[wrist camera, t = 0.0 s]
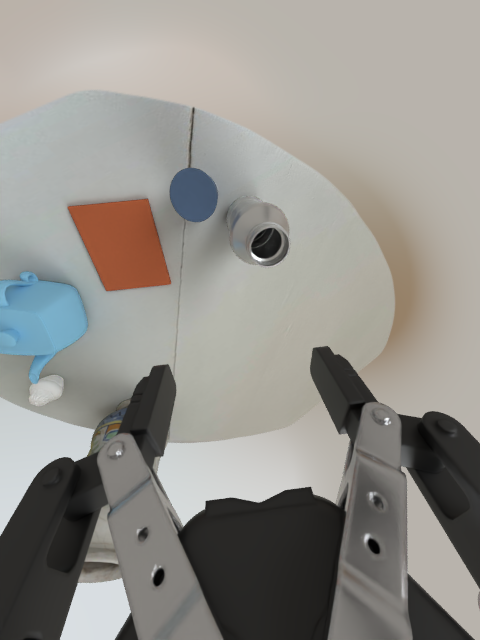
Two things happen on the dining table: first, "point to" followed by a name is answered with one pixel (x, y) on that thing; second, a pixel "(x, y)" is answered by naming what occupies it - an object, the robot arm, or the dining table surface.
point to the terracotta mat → (122, 243)
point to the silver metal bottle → (258, 232)
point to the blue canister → (193, 194)
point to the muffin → (46, 390)
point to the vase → (105, 512)
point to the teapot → (39, 319)
